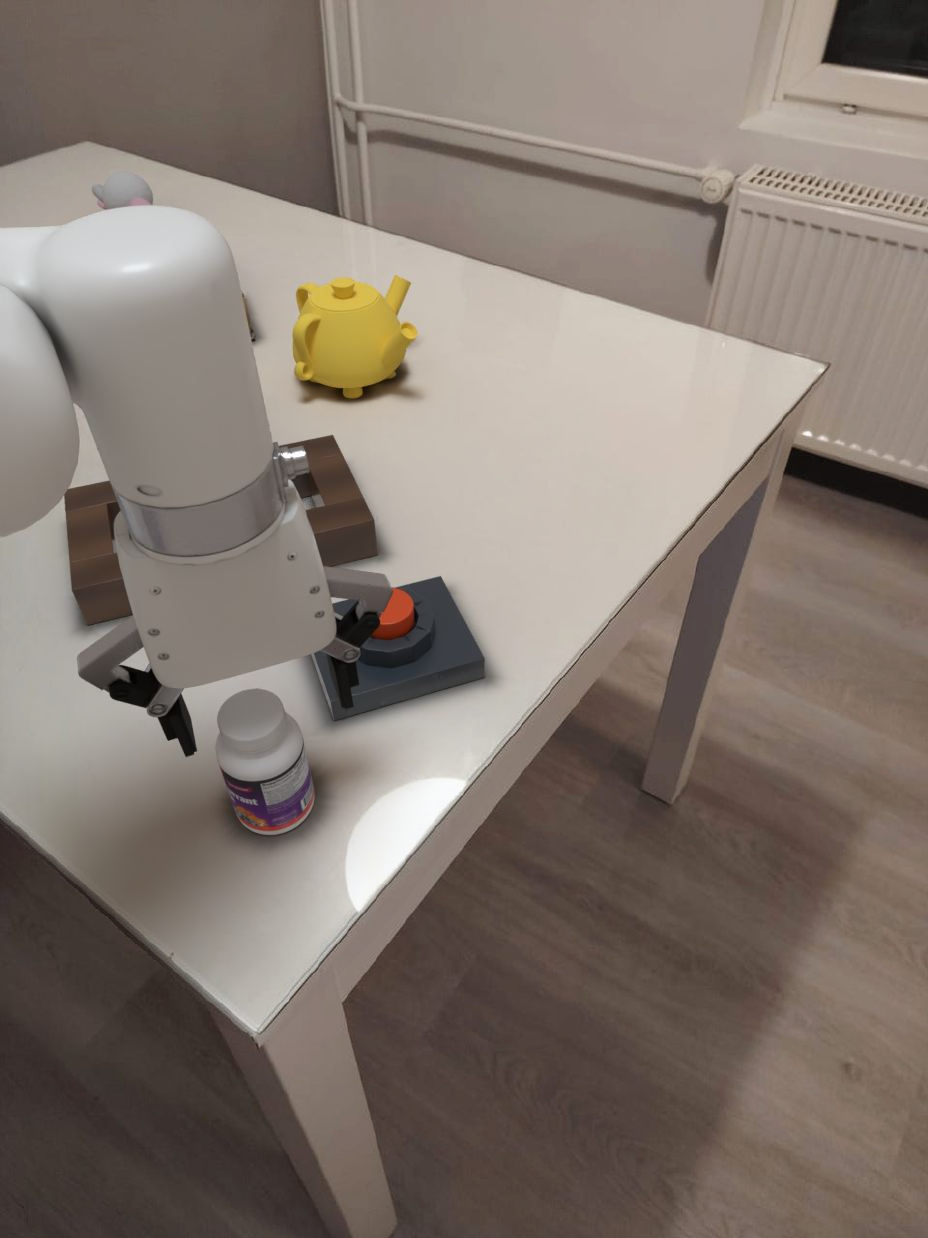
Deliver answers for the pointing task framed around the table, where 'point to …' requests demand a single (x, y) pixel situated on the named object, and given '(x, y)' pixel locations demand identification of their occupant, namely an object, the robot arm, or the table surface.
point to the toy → (123, 191)
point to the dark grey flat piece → (410, 654)
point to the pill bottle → (263, 762)
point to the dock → (330, 482)
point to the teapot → (350, 333)
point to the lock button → (396, 617)
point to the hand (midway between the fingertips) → (267, 714)
